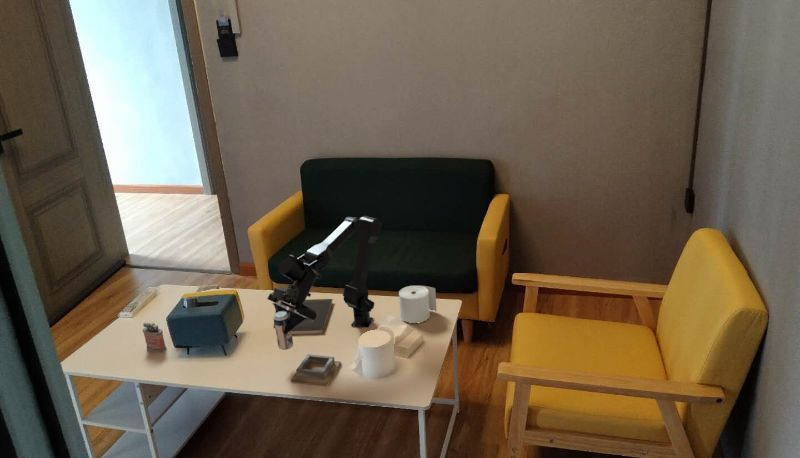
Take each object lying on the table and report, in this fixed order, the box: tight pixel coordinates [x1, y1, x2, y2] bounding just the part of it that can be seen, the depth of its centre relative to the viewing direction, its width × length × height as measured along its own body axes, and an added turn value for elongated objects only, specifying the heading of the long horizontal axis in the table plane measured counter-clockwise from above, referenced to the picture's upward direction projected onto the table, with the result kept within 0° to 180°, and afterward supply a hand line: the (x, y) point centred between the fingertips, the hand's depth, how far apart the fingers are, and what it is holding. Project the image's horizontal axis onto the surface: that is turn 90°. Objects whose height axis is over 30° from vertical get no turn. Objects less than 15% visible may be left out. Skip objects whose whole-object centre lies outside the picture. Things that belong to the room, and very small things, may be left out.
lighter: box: [142, 322, 167, 353], centre depth 214 cm, size 8×3×10 cm, turn 65°
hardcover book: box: [287, 298, 333, 335], centre depth 229 cm, size 16×23×2 cm
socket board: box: [290, 353, 342, 387], centre depth 194 cm, size 12×12×4 cm
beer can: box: [273, 311, 294, 351], centre depth 196 cm, size 5×5×12 cm
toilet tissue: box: [398, 285, 437, 324], centre depth 223 cm, size 11×12×10 cm
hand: (279, 330), depth 195 cm, fingers closed on beer can, 5 cm apart
